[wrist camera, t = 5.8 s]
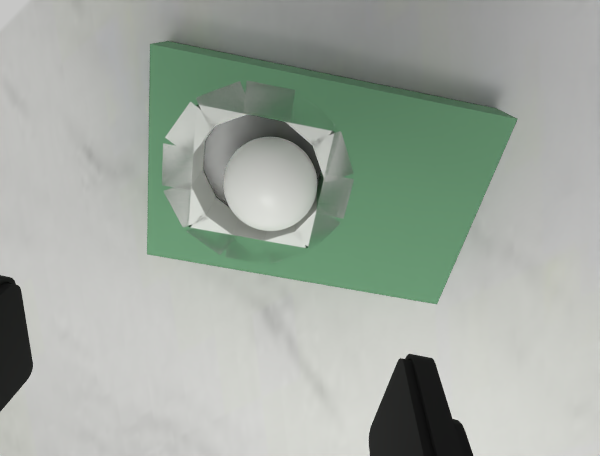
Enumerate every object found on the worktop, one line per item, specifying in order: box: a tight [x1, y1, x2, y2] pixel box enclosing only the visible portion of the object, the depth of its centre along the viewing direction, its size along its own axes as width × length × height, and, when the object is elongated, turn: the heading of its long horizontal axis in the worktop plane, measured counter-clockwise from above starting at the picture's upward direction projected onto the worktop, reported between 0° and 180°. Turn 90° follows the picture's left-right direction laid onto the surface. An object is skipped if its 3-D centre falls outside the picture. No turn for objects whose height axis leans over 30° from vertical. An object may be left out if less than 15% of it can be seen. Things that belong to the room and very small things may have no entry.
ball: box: [223, 137, 317, 231], centre depth 21 cm, size 5×5×5 cm
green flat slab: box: [147, 41, 517, 304], centre depth 22 cm, size 17×11×2 cm, turn 79°
